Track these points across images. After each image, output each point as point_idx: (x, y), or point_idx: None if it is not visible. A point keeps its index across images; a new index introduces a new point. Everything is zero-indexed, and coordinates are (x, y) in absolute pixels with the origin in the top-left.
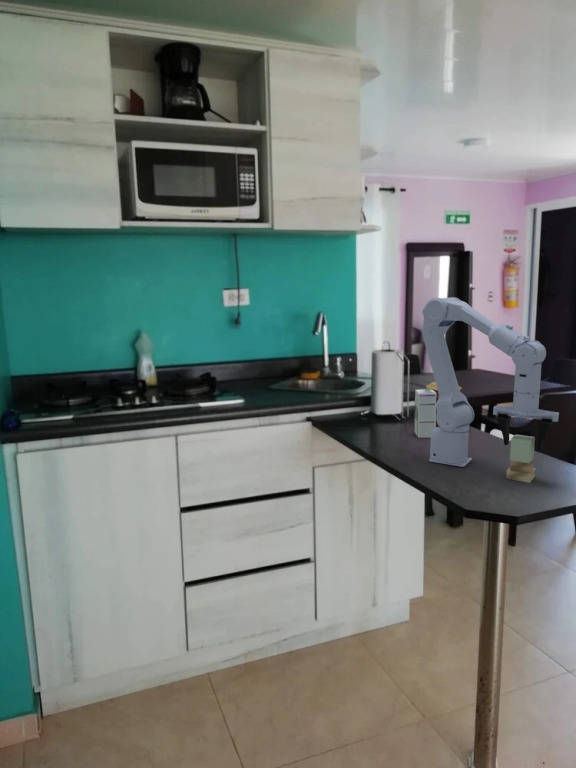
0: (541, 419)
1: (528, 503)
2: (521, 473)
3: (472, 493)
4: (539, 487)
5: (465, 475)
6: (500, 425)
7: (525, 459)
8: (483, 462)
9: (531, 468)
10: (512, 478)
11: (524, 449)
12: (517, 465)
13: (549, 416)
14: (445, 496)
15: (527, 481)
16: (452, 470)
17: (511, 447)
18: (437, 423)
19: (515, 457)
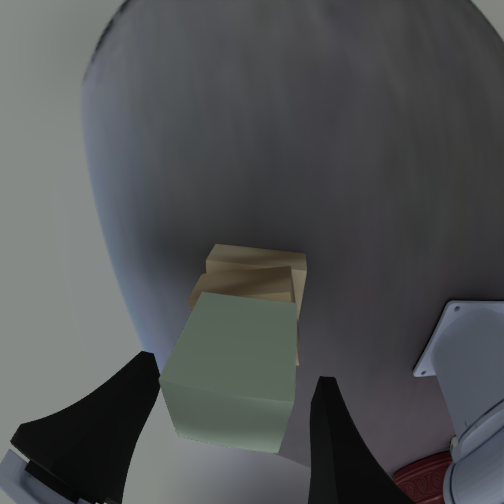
0: (83, 499)
1: (181, 17)
2: (243, 262)
3: (391, 21)
4: (176, 207)
5: (447, 222)
6: (381, 479)
7: (217, 303)
8: (381, 370)
9: (201, 284)
10: (281, 253)
11: (211, 341)
12: (259, 284)
13: (21, 488)
14: None
15: (224, 245)
16: (479, 257)
17: (290, 353)
18: (443, 467)
19: (268, 312)
